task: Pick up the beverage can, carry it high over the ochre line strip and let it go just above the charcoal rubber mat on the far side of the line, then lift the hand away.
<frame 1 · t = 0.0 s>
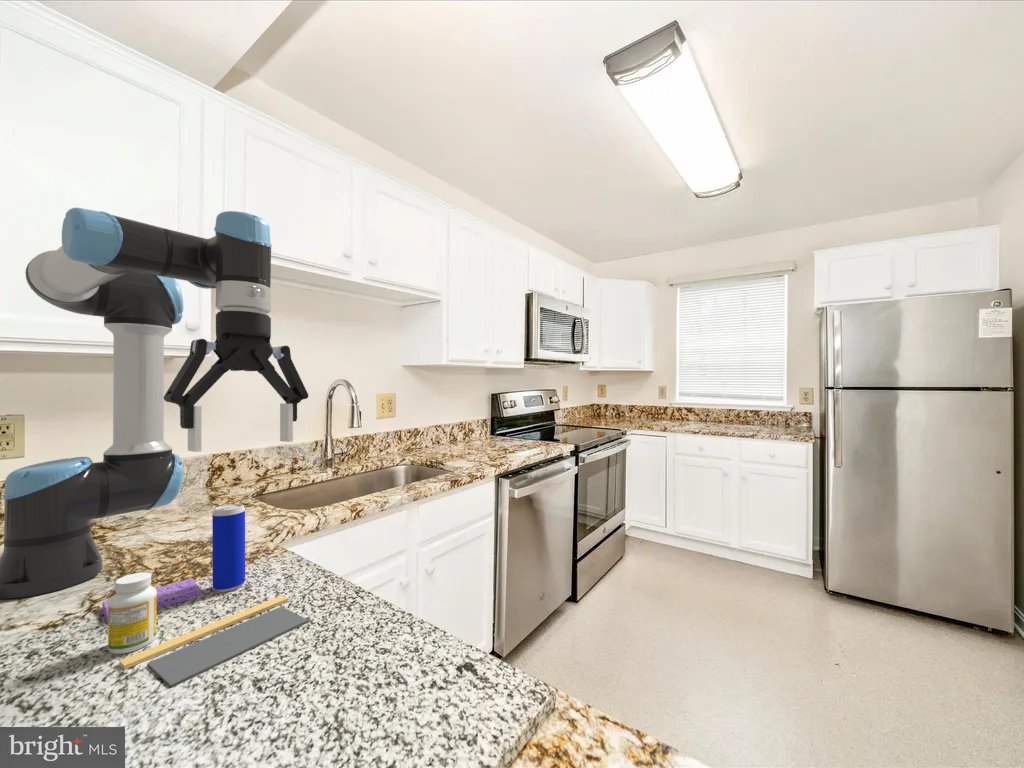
hand: (244, 446, 69), 28 cm above the counter, tool pointing down, fingers open, 13 cm apart
supplement bottle: (133, 645, 63), on the counter
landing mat: (234, 641, 63), on the counter
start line: (214, 628, 67), on the counter
sponges: (153, 606, 76), on the counter
beverage can: (229, 587, 81), on the counter
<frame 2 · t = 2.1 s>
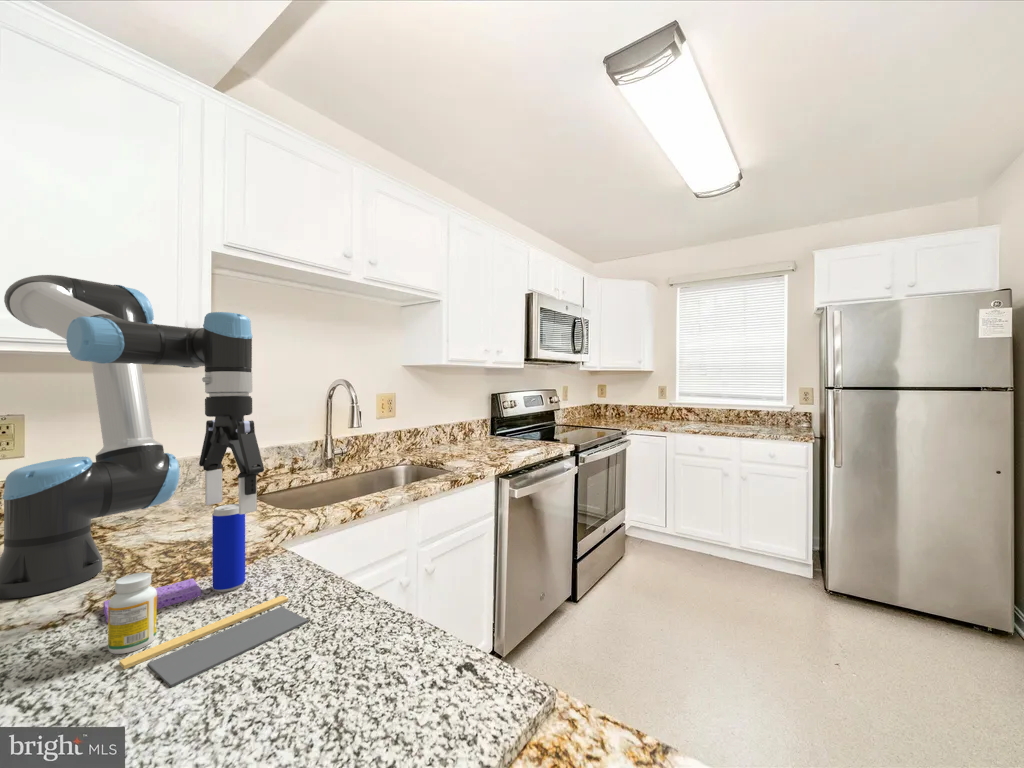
hand: (230, 507, 81), 15 cm above the counter, tool pointing down, fingers open, 13 cm apart
nothing on the counter moved.
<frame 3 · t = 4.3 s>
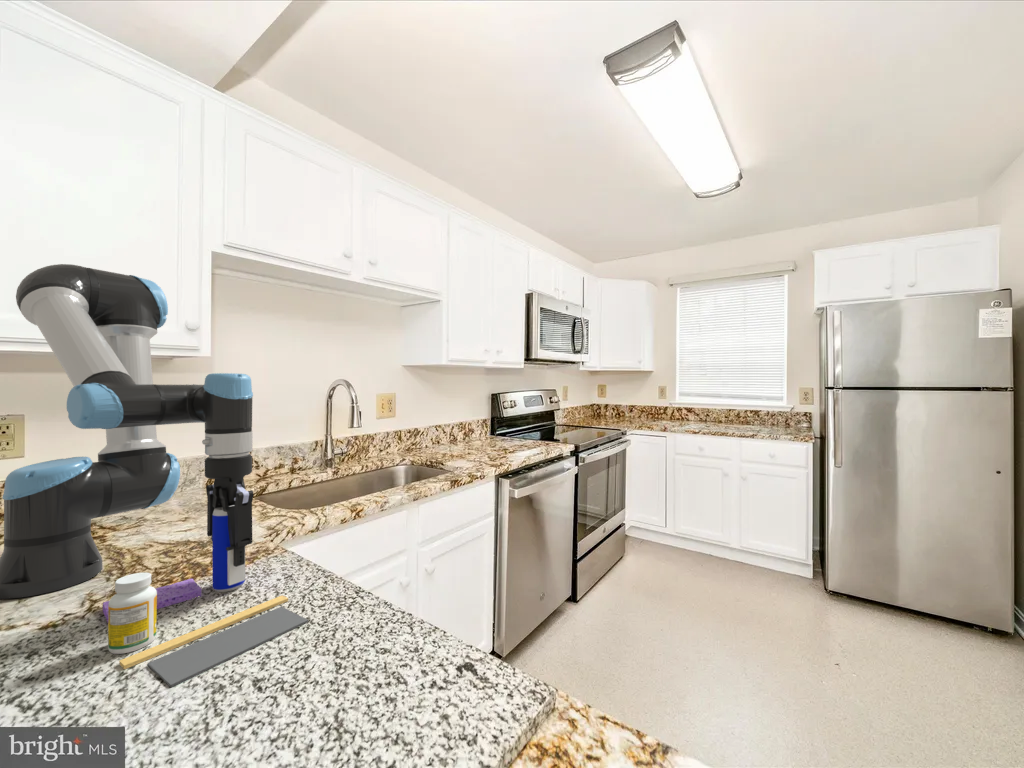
hand: (229, 578, 81), 2 cm above the counter, tool pointing down, fingers closed on beverage can, 5 cm apart
beverage can: (229, 587, 81), on the counter, touching gripper
everything else where it was.
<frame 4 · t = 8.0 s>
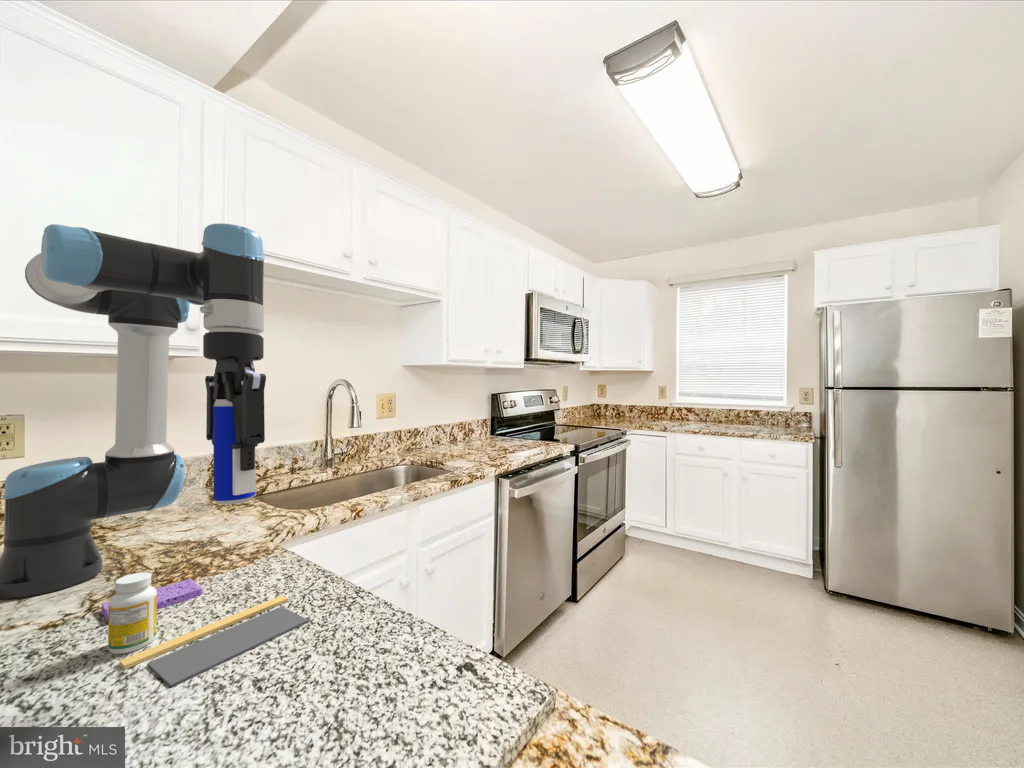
hand: (234, 490, 64), 22 cm above the counter, tool pointing down, fingers closed on beverage can, 5 cm apart
beverage can: (234, 502, 64), point 20 cm above the counter, touching gripper
everything else where it was.
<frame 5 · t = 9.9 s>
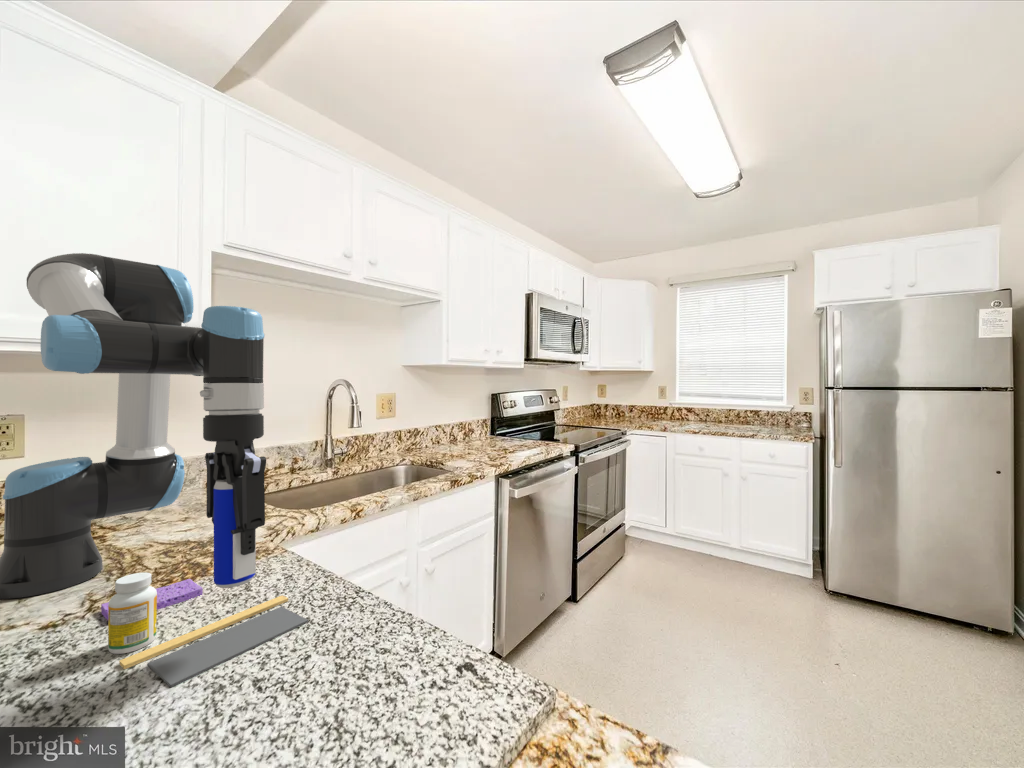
hand: (234, 570, 63), 10 cm above the counter, tool pointing down, fingers closed on beverage can, 5 cm apart
beverage can: (235, 582, 63), point 9 cm above the counter, touching gripper
everything else where it was.
when the fingers open (4 cm above the counter, at t = 11.5 s): beverage can drops 2 cm, resting on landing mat.
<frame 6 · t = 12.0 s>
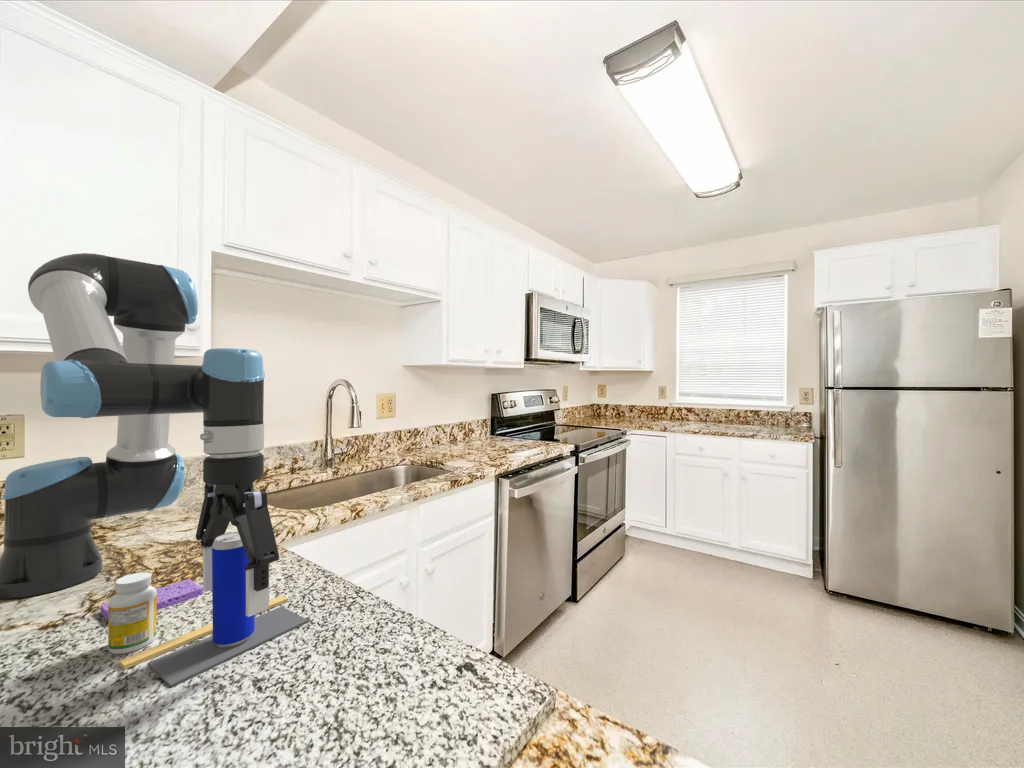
hand: (234, 599, 63), 6 cm above the counter, tool pointing down, fingers open, 13 cm apart
beverage can: (234, 640, 63), resting on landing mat
everything else where it was.
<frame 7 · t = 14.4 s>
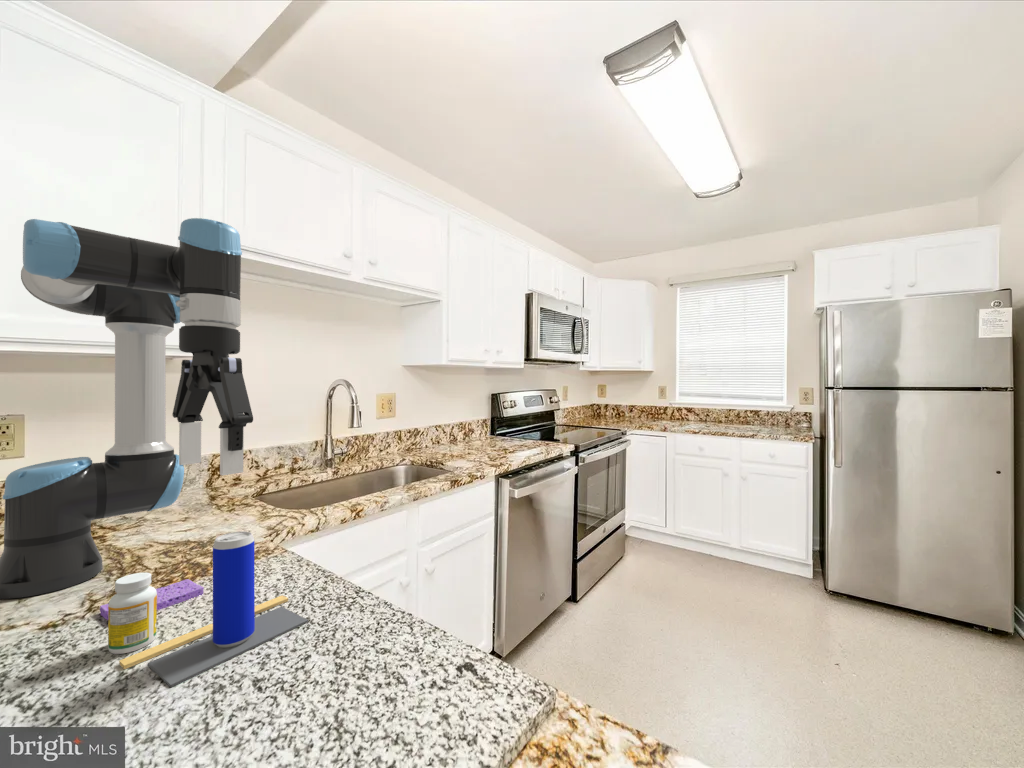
hand: (209, 468, 65), 25 cm above the counter, tool pointing down, fingers open, 13 cm apart
nothing on the counter moved.
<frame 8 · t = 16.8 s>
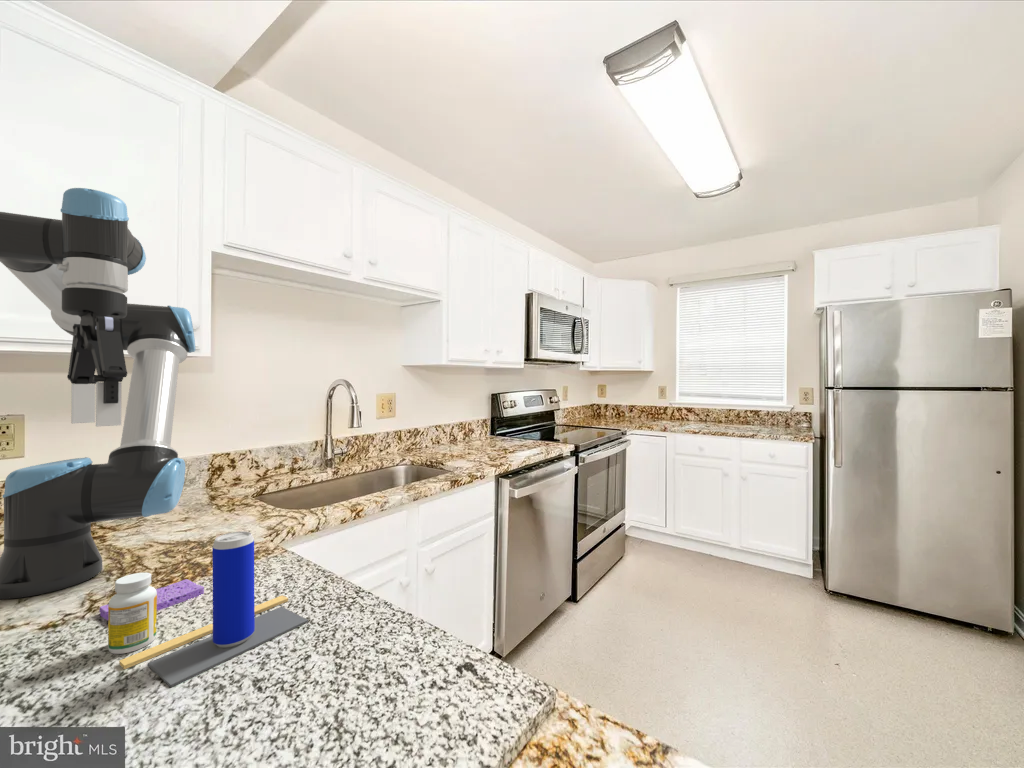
hand: (95, 424, 68), 32 cm above the counter, tool pointing down, fingers open, 13 cm apart
at the end: beverage can inside the target area (1.3 cm from its centre), resting on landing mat; the gripper is holding nothing; beverage can tilted 0° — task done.
